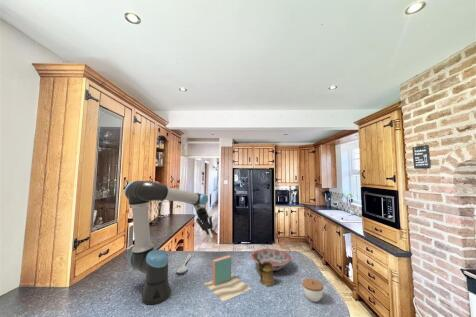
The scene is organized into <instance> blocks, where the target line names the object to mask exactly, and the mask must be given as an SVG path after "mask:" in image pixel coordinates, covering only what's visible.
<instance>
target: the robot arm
mask: <svg viewBox="0 0 476 317" xmlns="http://www.w3.org/2000/svg"><path fill="white" fill-rule="evenodd" d="M124 188H125V189H124V196H125V197H126V198H127V200H128V205H129V206H130V207H131V209H132V210H131V211H132V225H133V226H132V227H133V238H134V241H133V242H134V247H133V248H132V249H131V255H129V261H128V262H129V264H130V267H131V268H132V269H134V270H136V271H139V272H141V273H143V274H144V275H145V284H144V288H143V292H142V293H141V302H142V303H143V304H145V305H153V306H154V305H157V304H160V303H163V302H164V301H166V300H168V299H169V298H170V296H171V294H172V290H171V289H172V288H171V286H170V282H169V260H170V259H169V254H168V252H167V251H166V250H164V249H154V244H153V243H152V242H151V233H150V230H151V229H150V217H149V206H148V205H149V203H150V202H151V201H152V202H153V201H154V202H155V201H156V202H163V201H165V200H166V201H170V202H172V201H173V202H177V203H178V202H180V203H185V204H190V205H192V206H193V207H194V211H195V213H196V216H197V218H196V219H195V222H196V223H197V224H198V225H199V227H200V228H201V230H202V231H204V232H205V233H206V235H208V237H209V240H212V239H213V238H214V236H213V231H212V229H213V227H214V226H213V219H212V218H213V216H212V215H209V214H208V212H207V209H206V206H205V205H206V204H207V203H208V201H209V196H208V195H207V194H206V193H199V192H193V191H188V190H183V189H178V188H172V187H168V185H167V184H166V185H165V184H162V183H158V182H154V181H151V180H133V181H131V182H129V183H128V184H127V185H126V186H125V187H124Z"/></svg>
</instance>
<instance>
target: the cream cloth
mask: <svg viewBox="0 0 476 317" xmlns="http://www.w3.org/2000/svg"><path fill="white" fill-rule="evenodd" d="M204 285H205V286H206V287H207V288H208V289H209V290H210V292H212V293H213V294H214V295H215V296H216V297H217V298H218V299H220V301H221V302H225V301H228V300H230V299H232V298H234V297H236V296H238V295H239V296H240V295H241V294H243V293H245V292H248V291H250V290H253V289H252V287H251V286H249V285H248V284H246V283H245V282H244V281H242V280H240V278H238V277H236V276H235V275H233V274H232V273H231V280H229V281H226V282H224V283H221V284H219V285H216V286H214V285H213V279H212V280H210V281H207V282H205V283H204Z"/></svg>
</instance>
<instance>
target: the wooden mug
mask: <svg viewBox="0 0 476 317" xmlns="http://www.w3.org/2000/svg"><path fill="white" fill-rule="evenodd" d="M253 256H254V257H255V259H256V260H257V261H258V265H257V264H256V271H257V274H258V275H259V277H260V279H259V282H260V284H262V285H264V286H265V287H273V286H274V285H275V277H274V271H273V267H272V264H271V263H270V262H264V263H261V262H260V261H259V260H258V258H257V257H256V256H255V255H254V254H253ZM260 267H261V268H260Z"/></svg>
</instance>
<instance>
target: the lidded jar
mask: <svg viewBox="0 0 476 317" xmlns="http://www.w3.org/2000/svg"><path fill="white" fill-rule="evenodd" d="M301 284H302V291H303V293H304V296H305V297H306V298H307V300H308V301H310V302H312V303H318V302H319V301H320V300H321V299H322V298H323V296H324V284H323V282H321V280H317V279H315V278H305V279H303V280H302V283H301Z"/></svg>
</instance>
